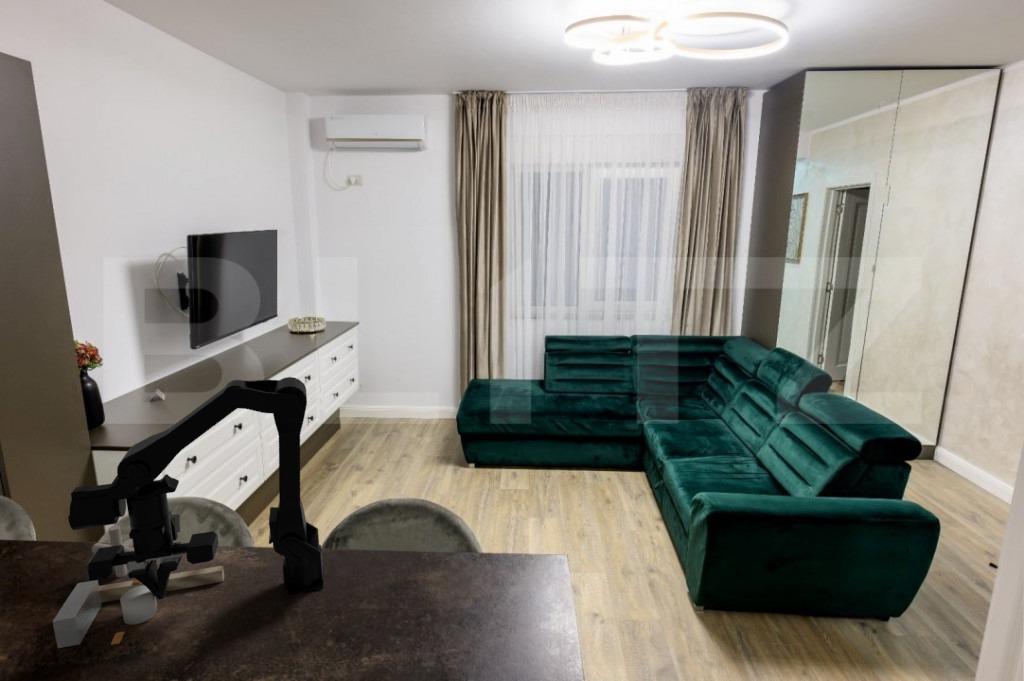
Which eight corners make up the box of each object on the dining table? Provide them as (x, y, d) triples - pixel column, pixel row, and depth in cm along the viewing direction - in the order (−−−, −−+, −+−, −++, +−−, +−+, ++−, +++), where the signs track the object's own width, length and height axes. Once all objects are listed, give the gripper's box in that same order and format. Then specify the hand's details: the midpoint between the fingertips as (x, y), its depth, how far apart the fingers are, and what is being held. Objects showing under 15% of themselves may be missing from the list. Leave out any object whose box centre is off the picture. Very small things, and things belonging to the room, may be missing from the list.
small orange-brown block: (124, 633, 95) (124, 631, 95) (119, 643, 93) (119, 641, 93) (116, 634, 95) (115, 633, 95) (111, 644, 92) (110, 643, 92)
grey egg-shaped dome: (161, 602, 102) (158, 582, 102) (153, 621, 98) (149, 600, 97) (128, 608, 101) (125, 588, 100) (119, 627, 96) (115, 606, 95)
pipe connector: (121, 594, 105) (113, 545, 102) (76, 587, 106) (67, 539, 104) (164, 562, 114) (157, 517, 112) (122, 556, 116) (114, 511, 114)
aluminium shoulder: (102, 604, 102) (97, 580, 101) (79, 644, 92) (74, 617, 91) (82, 608, 101) (77, 583, 100) (57, 648, 92) (52, 621, 90)
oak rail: (224, 576, 110) (222, 563, 109) (222, 581, 108) (221, 568, 108) (90, 599, 103) (88, 585, 103) (87, 605, 102) (84, 591, 101)
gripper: (218, 487, 107) (227, 561, 110) (102, 502, 101) (115, 580, 105) (207, 517, 96) (217, 598, 100) (77, 535, 91) (92, 620, 94)
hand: (161, 597), depth 100 cm, fingers closed
